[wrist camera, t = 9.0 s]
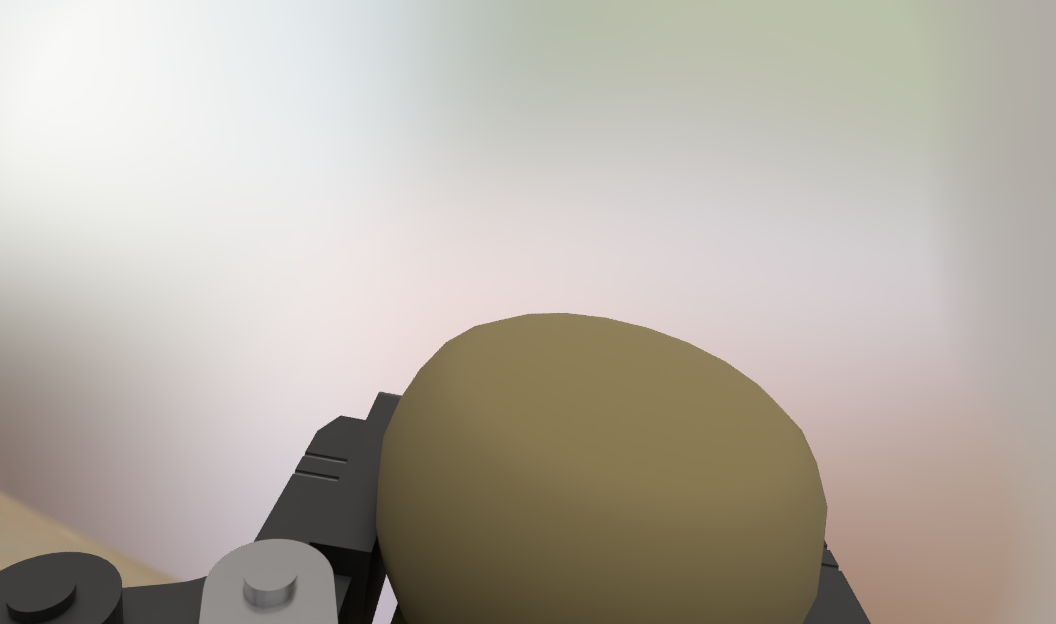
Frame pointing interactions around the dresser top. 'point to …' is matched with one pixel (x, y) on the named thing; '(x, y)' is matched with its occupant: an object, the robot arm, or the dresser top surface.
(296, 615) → the robot arm
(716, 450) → the cork
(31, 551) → the dresser top surface
